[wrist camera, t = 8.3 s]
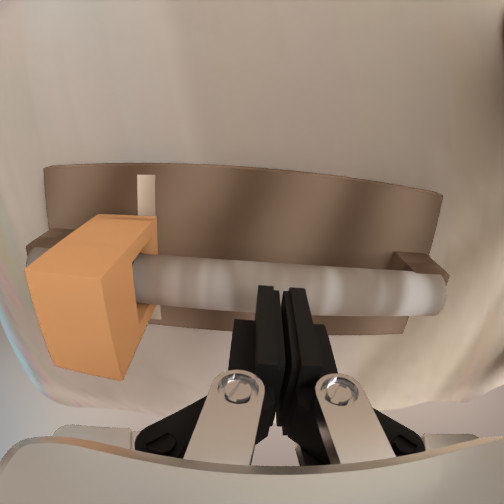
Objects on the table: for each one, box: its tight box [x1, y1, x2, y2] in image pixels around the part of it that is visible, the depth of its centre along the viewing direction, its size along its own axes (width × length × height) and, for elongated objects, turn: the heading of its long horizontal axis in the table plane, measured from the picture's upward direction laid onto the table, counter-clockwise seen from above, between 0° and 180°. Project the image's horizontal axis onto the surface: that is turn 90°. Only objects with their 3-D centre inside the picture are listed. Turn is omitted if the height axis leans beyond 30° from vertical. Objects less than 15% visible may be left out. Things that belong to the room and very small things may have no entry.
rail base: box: [26, 163, 450, 335], centre depth 16 cm, size 24×10×5 cm, turn 86°
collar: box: [24, 214, 158, 381], centre depth 13 cm, size 4×5×7 cm
